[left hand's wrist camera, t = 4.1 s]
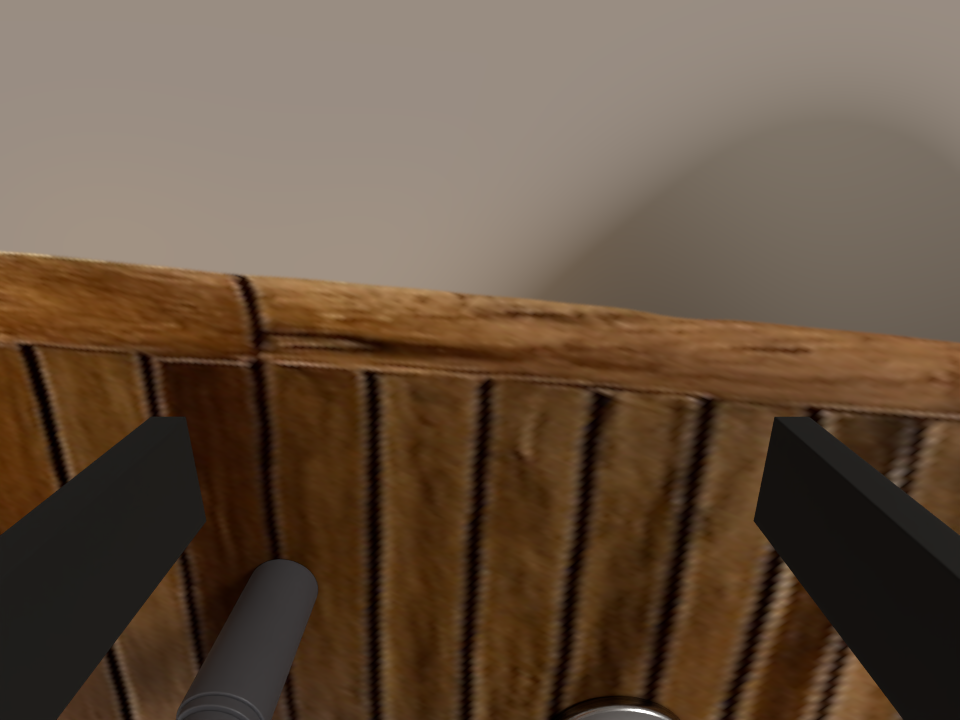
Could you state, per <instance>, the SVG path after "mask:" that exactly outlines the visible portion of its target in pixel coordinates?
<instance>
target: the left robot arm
mask: <svg viewBox="0 0 960 720" xmlns="http://www.w3.org/2000/svg"><path fill="white" fill-rule="evenodd" d="M205 522H206V517H205V512H204V507H203V502H202V497H201V492H200V487H199V482H198V477H197V472H196V467H195V462H194V457H193V452H192V447H191V442H190V437H189V432H188V427H187V422H186V417H150V418H149V419H148V420H146V421H145V422H144V423H143V424H141V425H140V426H139V427H138V428H136V429H135V430H134V431H132V432H131V433H130V434H129V435H127V436H126V437H125V438H124V439H122V440H121V441H120V442H118V443H117V444H116V445H115V446H113V447H112V448H111V449H110V450H108V451H107V452H106V453H105V454H103V455H102V456H101V457H99V458H98V459H97V460H96V461H94V462H93V463H92V464H91V465H89V466H88V467H87V468H85V469H84V470H83V471H82V472H80V473H79V474H78V475H77V476H75V477H74V478H73V479H71V480H70V481H69V482H68V483H66V484H65V485H64V486H63V487H61V488H60V489H59V490H58V491H56V492H55V493H54V494H52V495H51V496H50V497H49V498H47V499H46V500H45V501H44V502H42V503H41V504H40V505H38V506H37V507H36V508H35V509H33V510H32V511H31V512H30V513H28V514H27V515H26V516H25V517H23V518H22V519H21V520H19V521H18V522H17V523H16V524H14V525H13V526H12V527H11V528H9V529H8V530H7V531H5V532H4V533H3V534H2V535H0V720H57V718H58V717H59V716H60V714H61V713H62V712H63V710H64V709H65V708H66V706H67V705H68V704H69V702H70V701H71V700H72V698H73V697H74V696H75V694H76V693H77V692H78V690H79V689H80V688H81V686H82V685H83V684H84V682H85V681H86V680H87V678H88V677H89V676H90V674H91V673H92V672H93V670H94V669H95V668H96V667H97V665H98V664H99V663H100V661H101V660H102V659H103V657H104V656H105V655H106V653H107V652H108V651H109V649H110V648H111V647H112V645H113V644H114V643H115V641H116V640H117V639H118V637H119V636H120V635H121V633H122V632H123V631H124V629H125V628H126V627H127V625H128V624H129V623H130V621H131V620H132V619H133V617H134V616H135V615H136V613H137V612H138V611H139V609H140V608H141V607H142V605H143V604H144V603H145V602H146V600H147V599H148V598H149V596H150V595H151V594H152V592H153V591H154V590H155V588H156V587H157V586H158V584H159V583H160V582H161V580H162V579H163V578H164V576H165V575H166V574H167V572H168V571H169V570H170V568H171V567H172V566H173V564H174V563H175V562H176V560H177V559H178V558H179V556H180V555H181V554H182V552H183V551H184V550H185V548H186V547H187V546H188V544H189V543H190V542H191V541H192V539H193V538H194V537H195V535H196V534H197V533H198V531H199V530H200V529H201V527H202V526H203V525H204V523H205ZM754 522H755V523H756V525H757V526H758V527H759V529H760V530H761V531H762V533H763V534H764V535H765V537H766V538H767V539H768V541H769V542H770V543H771V544H772V546H773V547H774V548H775V550H776V551H777V552H778V554H779V555H780V556H781V558H782V559H783V560H784V562H785V563H786V564H787V566H788V567H789V568H790V570H791V571H792V572H793V574H794V575H795V576H796V578H797V579H798V580H799V582H800V583H801V584H802V586H803V587H804V588H805V590H806V591H807V592H808V594H809V595H810V596H811V598H812V599H813V600H814V602H815V603H816V604H817V605H818V607H819V608H820V609H821V611H822V612H823V613H824V615H825V616H826V617H827V619H828V620H829V621H830V623H831V624H832V625H833V627H834V628H835V629H836V631H837V632H838V633H839V635H840V636H841V637H842V639H843V640H844V641H845V643H846V644H847V645H848V647H849V648H850V649H851V651H852V652H853V653H854V655H855V656H856V657H857V659H858V660H859V661H860V663H861V664H862V665H863V667H864V668H865V669H866V670H867V672H868V673H869V674H870V676H871V677H872V678H873V680H874V681H875V682H876V684H877V685H878V686H879V688H880V689H881V690H882V692H883V693H884V694H885V696H886V697H887V698H888V700H889V701H890V702H891V704H892V705H893V706H894V708H895V709H896V710H897V712H898V713H899V714H900V716H901V717H902V718H903V720H960V535H958V534H957V533H956V532H955V531H953V530H952V529H951V528H949V527H948V526H947V525H946V524H944V523H943V522H942V521H941V520H939V519H938V518H937V517H935V516H934V515H933V514H932V513H930V512H929V511H928V510H927V509H925V508H924V507H923V506H922V505H920V504H919V503H918V502H916V501H915V500H914V499H913V498H911V497H910V496H909V495H908V494H906V493H905V492H904V491H902V490H901V489H900V488H899V487H897V486H896V485H895V484H894V483H892V482H891V481H890V480H889V479H887V478H886V477H885V476H883V475H882V474H881V473H880V472H878V471H877V470H876V469H875V468H873V467H872V466H871V465H869V464H868V463H867V462H866V461H864V460H863V459H862V458H861V457H859V456H858V455H857V454H855V453H854V452H853V451H852V450H850V449H849V448H848V447H847V446H845V445H844V444H843V443H842V442H840V441H839V440H838V439H836V438H835V437H834V436H833V435H831V434H830V433H829V432H828V431H826V430H825V429H824V428H822V427H821V426H820V425H819V424H817V423H816V422H815V421H814V420H812V419H811V418H810V417H774V422H773V427H772V432H771V437H770V442H769V447H768V452H767V457H766V462H765V467H764V472H763V477H762V482H761V487H760V492H759V497H758V502H757V507H756V512H755V517H754ZM554 720H680V719H679V718H678V717H677V716H676V715H675V714H674V713H673V712H671V711H670V710H668V709H667V708H665V707H663V706H661V705H659V704H657V703H654V702H652V701H649V700H645V699H641V698H635V697H623V696H617V697H604V698H599V699H594V700H590V701H587V702H584V703H581V704H579V705H576V706H574V707H572V708H570V709H568V710H567V711H565V712H563V713H562V714H561V715H559V716H558V717H557V718H555V719H554Z"/></svg>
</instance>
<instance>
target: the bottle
mask: <svg viewBox="0 0 960 720" xmlns="http://www.w3.org/2000/svg"><path fill="white" fill-rule="evenodd" d="M317 594H318V585H317V582H316V579H315V577H314V576H313V574H312V573H311V572H310V571H309V570H308V569H307V568H305V567H304V566H302V565H301V564H299V563H296V562H294V561H290V560H284V559H277V560H271V561H267V562H265V563H263V564H261V565H260V566H258V567H257V568H256V569H255V570H254V572H253V573H252V575H251V577H250V579H249V581H248V583H247V584H246V586H245V588H244V590H243V592H242V594H241V595H240V597H239V599H238V601H237V603H236V604H235V606H234V608H233V610H232V612H231V614H230V615H229V617H228V619H227V621H226V623H225V625H224V626H223V628H222V630H221V632H220V634H219V636H218V637H217V639H216V641H215V643H214V645H213V646H212V648H211V650H210V652H209V654H208V656H207V657H206V659H205V661H204V663H203V665H202V667H201V668H200V670H199V672H198V674H197V676H196V678H195V679H194V681H193V683H192V685H191V687H190V689H189V690H188V692H187V694H186V696H185V698H184V699H183V701H182V703H181V705H180V707H179V709H178V711H177V716H176V720H271V719H272V716H273V713H274V711H275V708H276V705H277V702H278V700H279V697H280V694H281V692H282V689H283V686H284V684H285V681H286V678H287V676H288V673H289V670H290V668H291V665H292V662H293V659H294V657H295V654H296V651H297V649H298V646H299V643H300V641H301V638H302V635H303V633H304V630H305V627H306V624H307V622H308V619H309V616H310V614H311V611H312V608H313V606H314V603H315V600H316V598H317Z"/></svg>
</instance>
